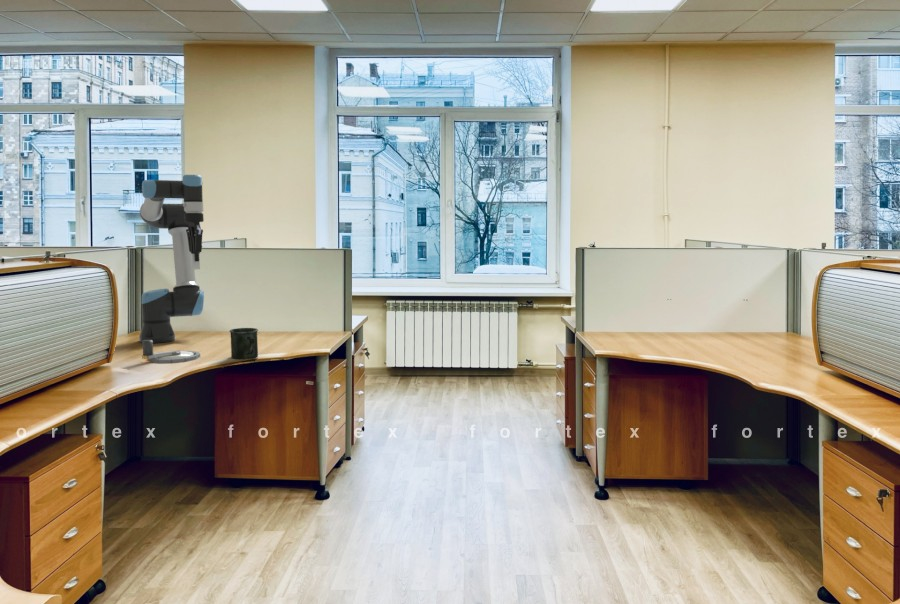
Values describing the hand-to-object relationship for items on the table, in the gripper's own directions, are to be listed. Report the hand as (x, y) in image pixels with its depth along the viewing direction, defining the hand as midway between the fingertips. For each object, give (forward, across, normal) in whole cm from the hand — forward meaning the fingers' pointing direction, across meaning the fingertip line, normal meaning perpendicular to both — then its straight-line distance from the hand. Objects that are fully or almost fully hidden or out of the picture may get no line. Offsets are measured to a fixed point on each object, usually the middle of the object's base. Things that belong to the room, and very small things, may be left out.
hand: (196, 269), depth 297 cm
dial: (+33, +18, -19) cm, 42 cm away
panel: (+34, +17, -16) cm, 42 cm away
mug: (+35, +34, +6) cm, 49 cm away
